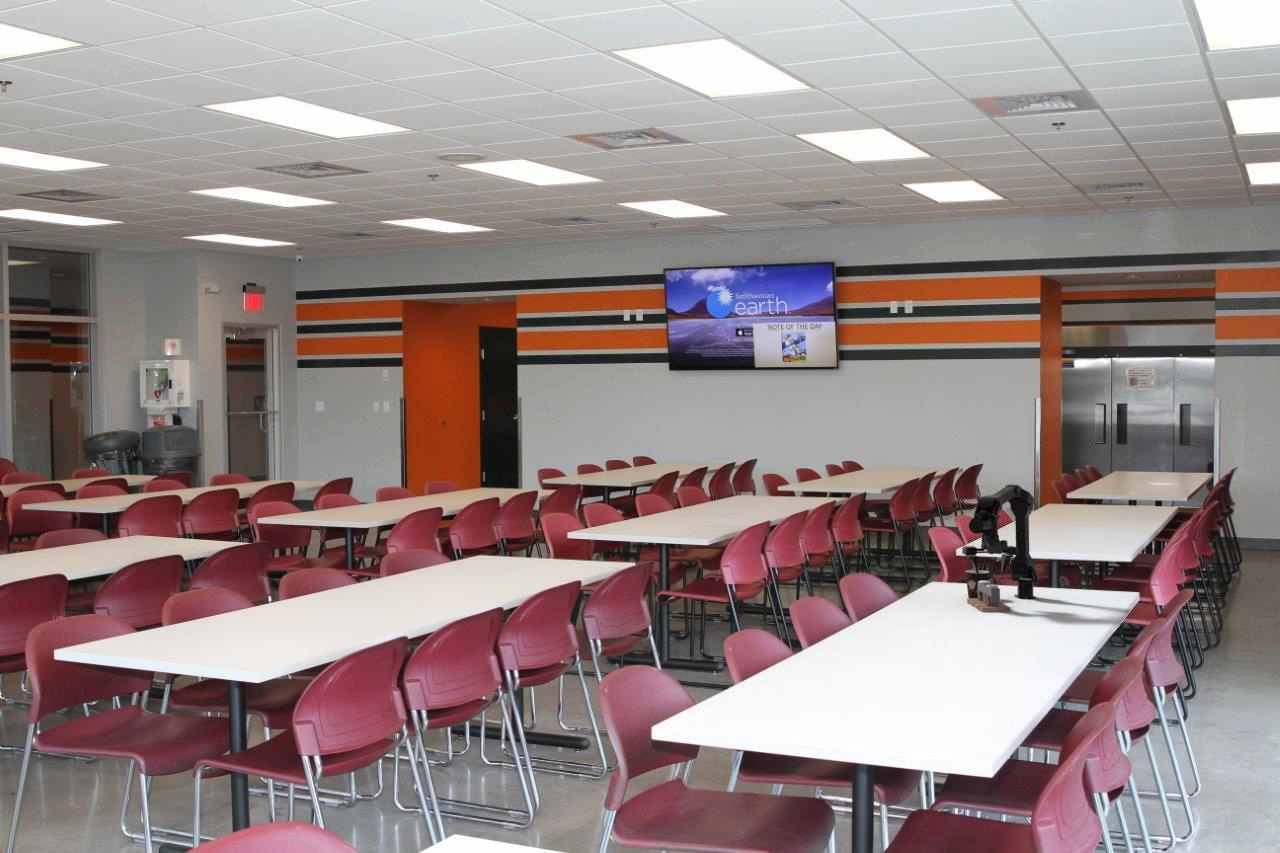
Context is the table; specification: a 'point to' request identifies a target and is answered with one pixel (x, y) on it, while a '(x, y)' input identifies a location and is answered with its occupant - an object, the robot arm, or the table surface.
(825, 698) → the table surface
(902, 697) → the table surface
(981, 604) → the display stand
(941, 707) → the table surface
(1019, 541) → the robot arm
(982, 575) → the coffee mug
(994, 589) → the grey bar with knobs
